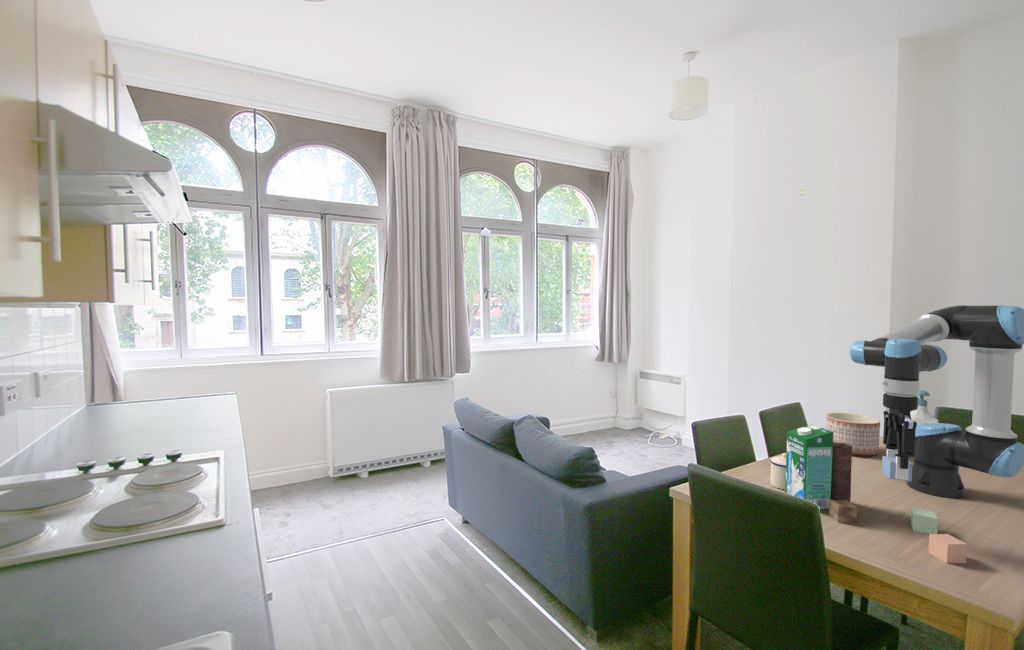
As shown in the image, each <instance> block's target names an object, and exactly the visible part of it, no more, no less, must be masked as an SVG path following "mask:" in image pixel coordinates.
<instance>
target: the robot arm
mask: <svg viewBox="0 0 1024 650" xmlns="http://www.w3.org/2000/svg"><path fill="white" fill-rule="evenodd" d="M943 340H954V341H955V340H958V341H967V342H969V343H968V346H969V348H970V349H971V350H973V351H974V352H975V356H974V378H973V398H972V399H973V400H972V401H973V402H972V416H971V417H972V421H971V425H969V426H966V428H965V430H964V431H962V430H963V429H962V427H961V426H960V425H957V424H952V423H943V422H938V423H923V424H919V425H917V423H916V422H912V421H911V415H910V412H912V411H913V410H917V409H918V399H919V397H918V396H919V395H918V394H919V390H920V372H934V371H936V370H937V371H938V370H941V368H944V367H945V365H946V363H947V362H948V355H947V353H946V351H945V350H944V349H943V348H942V347H940V346H938V345H935V344H928V343H933V342H940V341H941V342H942V341H943ZM1023 345H1024V308H1023V307H1022V306H1021V307H1020V306H1015V305H1004V304H1001V305H953V306H948V307H944V308H940V309H935V310H933V311H931V312H927V313H924V314H923V315H920V316H918V318H917V319H915V321H914V322H913V323H910V324H908V325H906V326H903V327H900V328H899V329H895V330H894V331H892V332H889V333H887V334H885V335H882V336H880V337H878V338H875V339H873V340H856V341H854V342H853V343H852V344H851V345H850V349H849V356H850V359H851V361H852V362H853V363H854V364H855V363H856V364H859V365H864V366H873V367H883V368H884V372H883V373H884V375H883V381H882V382H881V383H882V384H881V385H883V392H885V393H883V394H882V406H883V407H885V408H887V409H888V410H883V433H882V434H883V436H882V437H883V438H882V444H883V445H885V448H886V456H888V457H896V470H895V478H896V479H900V480H899V481H902V480H908V474H909V462H910V458H913V463H912V482H911V481H905V482H906V483H905V485H907V486H908V487H910V488H912V489H914V490H916V491H918V492H921V493H925V494H928V495H933V496H937V497H943V498H953V499H954V498H958V499H959V498H963V497H965V494H966V490H965V489H966V488H965V486H964V483H963V480H962V477H961V474H960V470H959V469H960V467H962V468H965V469H969V470H973V471H977V472H979V473H980V472H981V473H984V474H988V475H990V476H996V477H1001V478H1005V479H1006V478H1013V477H1015V476H1016V475H1017V474H1018V473H1020V471H1021V470H1022V468H1023V466H1024V444H1023V443H1021V442H1018V434H1016V433H1015V432H1014V431H1012V428H1011V427H1012V409H1013V408H1012V407H1013V406H1012V405H1013V392H1014V391H1013V390H1014V389H1013V388H1014V371H1015V369H1014V368H1015V367H1014V366H1015V355H1016V353H1019V352H1020V351H1022V350H1023ZM916 426H917V427H916ZM915 430H916V431H915Z"/></svg>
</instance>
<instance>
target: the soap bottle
mask: <svg viewBox="0 0 1024 650" xmlns="http://www.w3.org/2000/svg"><path fill="white" fill-rule="evenodd" d="M917 396H919V398H918V409H917V410H912V411H910V415H911V421H912V422H916V423H917V425H919V424H923V423H939V419H937V418H935V416H933V415H932V413H930V411H929V408H928V401H927V399H924V397H930V393H929V392H927V390H923V389H919V394H918V395H917ZM916 427H917V426H916ZM915 431H916V430H915Z"/></svg>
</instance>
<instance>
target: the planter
mask: <svg viewBox="0 0 1024 650" xmlns="http://www.w3.org/2000/svg"><path fill="white" fill-rule="evenodd" d="M825 429H826V430H829V431H832V432H833V442H838V443H846V444H851V445H852V457H853V456H854V457H871V456H873V455H877V454H879V453H880V434H881V420H880V419H878V418H875V417H873V416H869V415H864V414H863V415H862V414H858V413H851V412H828V413H826V415H825Z"/></svg>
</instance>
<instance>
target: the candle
mask: <svg viewBox="0 0 1024 650" xmlns="http://www.w3.org/2000/svg"><path fill="white" fill-rule="evenodd" d="M852 457H853V455H852V445H851V444H846V443H838V442H833V456H832V482H831V499H834V500H848V501H849V502H850V503H851V498H852V497H851V494H852V492H851V491H852V463H853V462H852V461H853V460H852Z"/></svg>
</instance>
